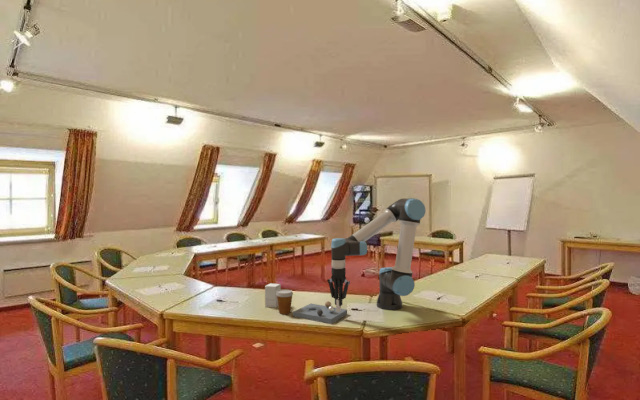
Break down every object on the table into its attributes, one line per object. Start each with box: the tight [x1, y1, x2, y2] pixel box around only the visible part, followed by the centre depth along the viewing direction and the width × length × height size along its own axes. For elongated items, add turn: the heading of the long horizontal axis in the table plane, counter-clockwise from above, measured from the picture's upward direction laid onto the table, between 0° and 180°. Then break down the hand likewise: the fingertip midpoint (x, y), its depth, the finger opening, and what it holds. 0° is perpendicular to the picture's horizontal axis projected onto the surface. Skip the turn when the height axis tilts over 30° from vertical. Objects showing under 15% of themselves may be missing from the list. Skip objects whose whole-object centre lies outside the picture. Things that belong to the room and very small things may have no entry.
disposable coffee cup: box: [276, 289, 294, 315], centre depth 206 cm, size 10×10×12 cm
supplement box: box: [264, 282, 282, 309], centre depth 219 cm, size 7×7×13 cm
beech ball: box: [324, 300, 332, 308], centre depth 206 cm, size 4×4×4 cm
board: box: [292, 303, 348, 325], centre depth 200 cm, size 24×18×2 cm
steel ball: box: [328, 305, 335, 313], centre depth 197 cm, size 4×4×4 cm
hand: (338, 311), depth 194 cm, fingers closed
